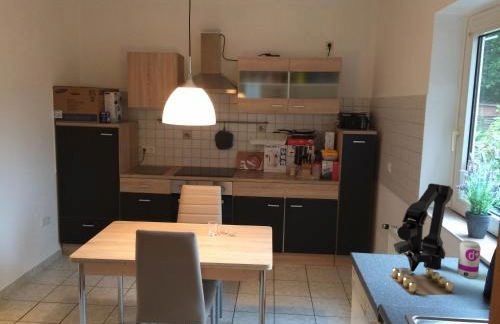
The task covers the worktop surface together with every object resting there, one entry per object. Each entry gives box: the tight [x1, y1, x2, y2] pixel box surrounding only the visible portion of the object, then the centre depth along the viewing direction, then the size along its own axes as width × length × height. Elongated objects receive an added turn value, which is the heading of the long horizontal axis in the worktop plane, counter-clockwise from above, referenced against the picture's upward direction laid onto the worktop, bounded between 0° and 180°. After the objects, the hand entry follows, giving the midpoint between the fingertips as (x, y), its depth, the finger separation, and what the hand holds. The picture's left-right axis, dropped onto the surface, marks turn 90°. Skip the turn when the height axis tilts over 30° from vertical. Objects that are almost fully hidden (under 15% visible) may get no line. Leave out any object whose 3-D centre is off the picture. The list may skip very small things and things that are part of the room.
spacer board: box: [388, 274, 457, 296], centre depth 170 cm, size 19×20×1 cm
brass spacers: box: [391, 267, 454, 295], centre depth 169 cm, size 18×18×4 cm
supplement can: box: [457, 239, 481, 279], centre depth 183 cm, size 8×8×15 cm
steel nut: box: [398, 267, 413, 275], centre depth 183 cm, size 5×6×2 cm
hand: (412, 271), depth 177 cm, fingers closed
